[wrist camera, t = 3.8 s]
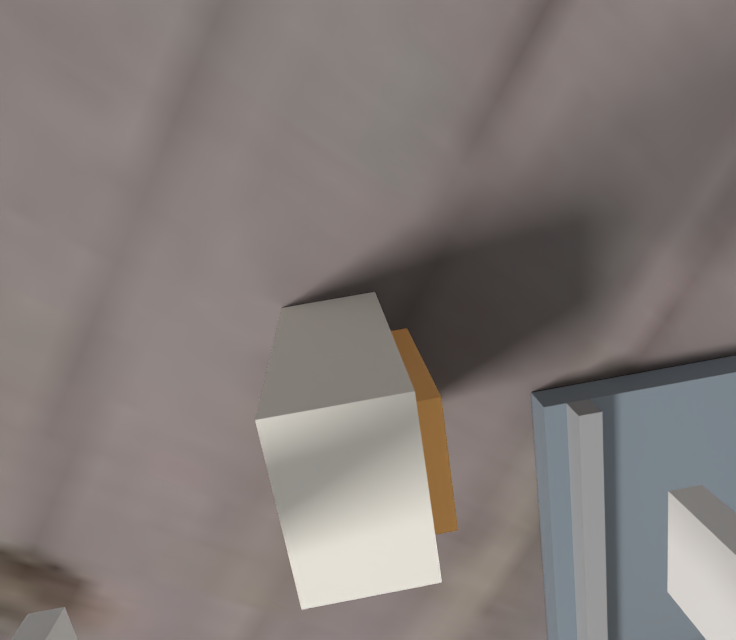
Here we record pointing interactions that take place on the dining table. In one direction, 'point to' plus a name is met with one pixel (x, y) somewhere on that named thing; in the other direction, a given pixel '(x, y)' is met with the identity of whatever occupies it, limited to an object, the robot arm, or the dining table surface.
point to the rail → (626, 493)
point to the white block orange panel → (354, 452)
